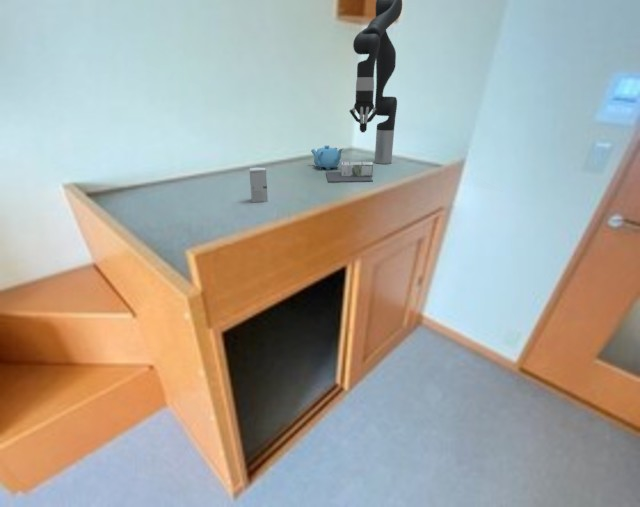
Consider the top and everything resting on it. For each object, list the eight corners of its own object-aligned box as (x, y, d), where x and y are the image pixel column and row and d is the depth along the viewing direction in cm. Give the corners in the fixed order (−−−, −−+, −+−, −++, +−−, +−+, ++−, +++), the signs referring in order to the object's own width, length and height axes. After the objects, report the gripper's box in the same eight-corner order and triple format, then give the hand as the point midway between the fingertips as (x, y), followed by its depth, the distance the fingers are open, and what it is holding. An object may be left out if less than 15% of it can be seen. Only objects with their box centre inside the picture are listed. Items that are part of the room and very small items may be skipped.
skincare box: (252, 202, 132) (249, 170, 126) (251, 199, 135) (248, 167, 130) (268, 201, 133) (266, 169, 127) (267, 197, 137) (265, 166, 131)
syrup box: (372, 161, 165) (341, 161, 166) (373, 164, 160) (341, 164, 161) (371, 173, 168) (341, 173, 169) (372, 176, 163) (341, 176, 164)
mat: (325, 172, 173) (325, 171, 172) (366, 172, 173) (366, 171, 173) (328, 182, 156) (328, 181, 156) (372, 181, 157) (372, 180, 157)
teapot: (339, 164, 189) (339, 142, 184) (343, 170, 177) (343, 147, 172) (311, 165, 188) (310, 143, 183) (313, 171, 176) (312, 148, 171)
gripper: (378, 88, 152) (376, 130, 160) (348, 89, 151) (347, 131, 159) (382, 89, 145) (379, 133, 153) (350, 89, 145) (349, 133, 153)
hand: (362, 132), depth 156 cm, fingers closed
